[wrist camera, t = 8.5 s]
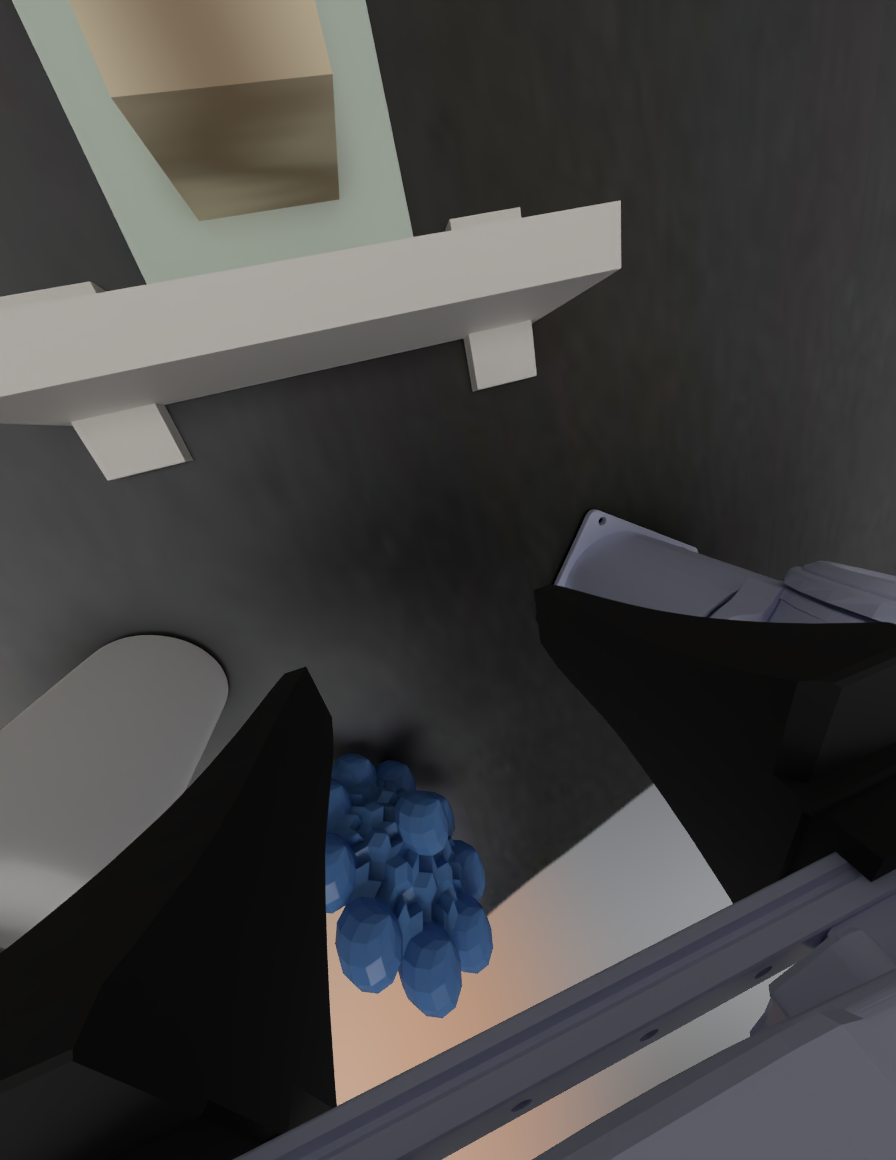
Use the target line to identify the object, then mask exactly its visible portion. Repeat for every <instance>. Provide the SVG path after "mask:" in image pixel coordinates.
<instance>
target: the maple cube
mask: <svg viewBox="0 0 896 1160" xmlns="http://www.w3.org/2000/svg"><path fill="white" fill-rule="evenodd" d="M69 1H70V4H71V6H72V8H73V11H74V13H75V15H76V18H77V20H78V22H79V25H80V27H81V29H82V32H83V34H84V36H85V39H86V41H87V43H88V46H89V48H90V50H91V52H92V55H93V57H94V59H95V62H96V64H97V66H98V69H99V71H100V73H101V76H102V78H103V80H104V83H105V85H106V87H107V90H108V92H109V94H110V97H111V98H112V100H113V101H114V103H115V104H116V105H117V107H118V108H119V110H120V111H121V112H122V114H123V115H124V117H125V118H126V119H127V121H128V122H129V124H130V125H131V126H132V128H133V129H134V131H135V132H136V133H137V135H138V136H139V138H140V139H141V140H142V142H143V143H144V145H145V146H146V147H147V149H148V150H149V152H150V153H151V154H152V156H153V157H154V159H155V160H156V161H157V163H158V164H159V165H160V167H161V168H162V170H163V171H164V172H165V174H166V175H167V177H168V178H169V179H170V181H171V182H172V184H173V185H174V186H175V188H176V189H177V191H178V192H179V193H180V195H181V196H182V198H183V199H184V200H185V202H186V203H187V205H188V206H189V207H190V209H191V210H192V212H193V213H194V214H195V216H196V217H197V219H198V220H199V221H204V220H211V219H217V218H223V217H230V216H236V215H243V214H249V213H255V212H262V211H268V210H275V209H281V208H287V207H294V206H300V205H307V204H313V203H319V202H326V201H332V200H339V181H338V163H337V145H336V127H335V108H334V90H333V73H332V69H331V65H330V61H329V57H328V53H327V49H326V44H325V40H324V36H323V32H322V28H321V24H320V20H319V15H318V11H317V7H316V3H315V0H69Z"/></svg>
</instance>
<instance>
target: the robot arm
mask: <svg viewBox="0 0 896 1160" xmlns="http://www.w3.org/2000/svg"><path fill="white" fill-rule="evenodd" d="M601 517H602V521H601V522H600V523H599V519H600V518H601ZM534 595H535V602H536V610H537V617H538V625H539V633H540V640H541V643H542V645H543V646H544V648H545V650H546V651H547V653H548V654H549V656H550V657H551V658H552V660H553V661H554V663H555V664H556V665H557V667H558V668H559V669H560V670H561V671H562V673H563V674H564V675H565V676H566V677H567V678H568V679H569V680H570V681H571V683H572V684H573V685H574V686H575V687H576V688H577V689H578V690H579V691H580V692H581V693H582V695H583V696H584V697H585V698H586V699H587V700H588V701H589V702H590V703H591V704H592V706H593V707H594V708H595V709H596V710H597V711H598V712H599V713H600V714H601V715H602V716H603V718H604V719H605V720H606V721H607V722H608V723H609V724H610V726H611V727H612V728H613V729H614V730H615V732H616V733H617V734H618V735H619V737H620V738H621V739H622V741H623V742H624V743H625V745H626V746H627V747H628V749H629V750H630V751H631V753H632V754H633V755H634V757H635V758H636V759H637V761H638V762H639V763H640V765H641V766H642V768H643V769H644V770H645V772H646V773H647V775H648V776H649V777H650V779H651V780H652V782H653V783H654V784H655V786H656V787H657V788H658V790H659V791H660V793H661V794H662V795H663V797H664V798H665V800H666V801H667V803H668V804H669V806H670V807H671V809H672V810H673V812H674V813H675V815H676V816H677V818H678V819H679V821H680V822H681V824H682V825H683V826H684V828H685V829H686V831H687V832H688V834H689V835H690V837H691V838H692V840H693V841H694V842H695V844H696V846H697V847H698V849H699V851H700V852H701V853H702V855H703V857H704V858H705V860H706V861H707V863H708V865H709V866H710V868H711V869H712V871H713V872H714V874H715V875H716V877H717V879H718V880H719V882H720V883H721V885H722V886H723V888H724V889H725V891H726V893H727V894H728V896H729V897H730V899H731V901H732V902H733V904H732V905H730V906H728V907H726V908H724V909H722V910H720V911H718V912H716V913H714V914H712V915H710V916H709V917H707V918H705V919H703V920H701V921H699V922H697V923H695V924H693V925H691V926H689V927H687V928H685V929H683V930H681V931H679V932H677V933H675V934H673V935H671V936H670V937H667V938H665V939H663V940H662V941H660V942H658V943H656V944H654V945H652V946H650V947H648V948H646V949H644V950H642V951H640V952H638V953H636V954H634V955H632V956H630V957H628V958H626V959H624V960H623V961H620V962H619V963H617V964H615V965H613V966H611V967H609V968H607V969H605V970H603V971H601V972H599V973H597V974H595V975H593V976H591V977H589V978H587V979H585V980H583V981H582V982H579V983H578V984H576V985H573V986H572V987H570V988H568V989H566V990H564V991H562V992H560V993H558V994H556V995H554V996H552V997H550V998H548V999H546V1000H544V1001H542V1002H540V1003H538V1004H536V1005H534V1006H533V1007H530V1008H528V1009H527V1010H525V1011H523V1012H521V1013H519V1014H517V1015H515V1016H513V1017H511V1018H509V1019H507V1020H505V1021H503V1022H501V1023H499V1024H497V1025H495V1026H493V1027H491V1028H489V1029H488V1030H485V1031H484V1032H482V1033H480V1034H478V1035H476V1036H474V1037H472V1038H470V1039H468V1040H466V1041H464V1042H462V1043H460V1044H458V1045H456V1046H454V1047H452V1048H450V1049H448V1050H446V1051H444V1052H442V1053H441V1054H438V1055H437V1056H435V1057H433V1058H431V1059H429V1060H427V1061H425V1062H423V1063H421V1064H419V1065H417V1066H415V1067H413V1068H411V1069H409V1070H407V1071H405V1072H403V1073H401V1074H400V1075H398V1076H395V1077H393V1078H391V1079H390V1080H388V1081H386V1082H384V1083H382V1084H380V1085H378V1086H376V1087H374V1088H372V1089H370V1090H368V1091H366V1092H364V1093H362V1094H360V1095H358V1096H356V1097H354V1098H353V1099H350V1100H348V1101H346V1102H345V1103H343V1104H341V1105H339V1106H337V1104H336V1091H335V1079H334V1065H333V1051H332V1050H333V1049H332V1035H331V1020H330V1003H329V982H328V960H327V933H326V883H325V849H326V830H327V819H328V808H329V797H330V786H331V775H332V763H333V728H332V717H331V715H330V713H329V711H328V709H327V707H326V705H325V703H324V701H323V699H322V697H321V695H320V693H319V691H318V689H317V687H316V685H315V683H314V681H313V679H312V677H311V675H310V674H309V672H308V670H307V668H306V667H303V668H300V669H297V670H294V671H291V672H288V673H285V674H284V675H283V676H282V677H281V678H280V680H279V681H278V682H277V683H276V684H275V686H274V687H273V688H272V689H271V691H270V692H269V693H268V694H267V696H266V697H265V698H264V700H263V701H262V702H261V703H260V705H259V706H258V707H257V709H256V710H255V711H254V712H253V714H252V715H251V716H250V717H249V719H248V720H247V721H246V722H245V724H244V725H243V726H242V727H241V729H240V730H239V731H238V732H237V734H236V735H235V736H234V737H233V738H232V739H231V741H230V742H229V743H228V744H227V745H226V746H225V748H224V749H223V750H222V751H221V752H220V753H219V755H218V756H217V757H216V758H215V759H214V760H213V762H212V763H211V764H210V765H209V766H208V767H207V768H206V770H205V771H204V772H203V773H202V774H201V775H200V776H199V777H198V778H197V779H196V780H195V781H194V783H193V784H192V785H191V786H190V787H189V788H188V789H187V790H186V791H185V792H184V793H183V794H182V795H181V796H180V797H179V798H178V799H177V800H176V801H175V802H174V803H173V804H172V805H171V806H170V807H169V808H168V809H167V810H166V811H165V812H164V813H163V814H162V815H161V816H160V817H159V818H158V819H157V820H156V821H155V822H154V823H152V824H151V825H150V826H149V827H148V828H147V829H146V830H145V831H144V832H143V833H142V834H141V835H139V836H138V837H137V838H136V839H135V840H134V841H133V842H132V843H131V844H130V845H129V846H128V847H126V848H125V849H124V850H123V851H122V852H121V853H120V854H119V855H118V856H117V857H116V858H115V859H113V860H112V861H111V862H110V863H109V864H108V865H107V866H106V867H104V868H103V869H102V870H101V871H100V872H99V873H98V874H96V875H95V876H94V877H93V878H92V879H91V880H89V881H88V882H87V883H86V884H85V885H84V886H82V887H81V888H80V889H79V890H78V891H77V892H75V893H74V894H73V895H72V896H71V897H69V898H68V899H67V900H66V901H65V902H63V903H62V904H61V905H60V906H58V907H57V908H56V909H55V910H54V911H52V912H51V913H50V914H49V915H48V916H46V917H45V918H44V919H43V920H42V921H40V922H39V923H38V924H37V925H35V926H34V927H33V928H32V929H30V930H29V931H28V932H27V933H25V934H24V935H23V936H22V937H20V938H19V939H18V940H17V941H15V942H14V943H13V944H12V945H10V946H9V947H8V948H6V949H5V950H4V951H2V952H1V953H0V1160H441V1159H443V1158H445V1157H447V1156H448V1155H451V1154H452V1153H454V1152H456V1151H458V1150H459V1149H461V1148H463V1147H465V1146H467V1145H468V1144H470V1143H472V1142H474V1141H476V1140H477V1139H479V1138H481V1137H483V1136H485V1135H487V1134H488V1133H490V1132H492V1131H494V1130H496V1129H497V1128H499V1127H501V1126H503V1125H505V1124H506V1123H508V1122H510V1121H512V1120H514V1119H515V1118H517V1117H519V1116H521V1115H523V1114H525V1113H526V1112H528V1111H530V1110H532V1109H533V1108H535V1107H537V1106H539V1105H541V1104H542V1103H544V1102H546V1101H548V1100H550V1099H551V1098H553V1097H555V1096H557V1095H559V1094H561V1093H562V1092H564V1091H566V1090H568V1089H570V1088H571V1087H573V1086H575V1085H577V1084H579V1083H580V1082H582V1081H584V1080H586V1079H588V1078H589V1077H591V1076H593V1075H595V1074H597V1073H598V1072H600V1071H602V1070H604V1069H606V1068H607V1067H609V1066H611V1065H613V1064H614V1063H616V1062H618V1061H620V1060H622V1059H624V1058H626V1057H627V1056H629V1055H631V1054H633V1053H634V1052H636V1051H638V1050H640V1049H642V1048H644V1047H645V1046H647V1045H649V1044H651V1043H653V1042H654V1041H656V1040H658V1039H660V1038H662V1037H663V1036H665V1035H667V1034H669V1033H671V1032H672V1031H674V1030H676V1029H678V1028H680V1027H681V1026H683V1025H685V1024H687V1023H688V1022H690V1021H692V1020H694V1019H696V1018H697V1017H699V1016H701V1015H703V1014H705V1013H706V1012H708V1011H710V1010H712V1009H714V1008H716V1007H717V1006H719V1005H721V1004H723V1003H725V1002H726V1001H728V1000H730V999H732V998H734V997H735V996H737V995H739V994H741V993H743V992H745V991H746V990H748V989H750V988H752V987H753V986H755V985H757V984H759V983H761V982H763V981H764V980H766V979H768V978H770V977H771V976H773V975H775V974H777V973H779V972H781V971H782V970H784V969H786V968H788V967H790V966H791V965H793V964H794V965H793V966H792V967H791V968H789V969H788V970H787V971H786V972H784V973H783V974H782V975H780V976H779V977H778V978H777V979H775V980H774V981H773V982H772V983H771V984H769V991H770V997H771V998H770V1001H769V1003H768V1005H767V1008H766V1010H765V1013H764V1014H763V1015H762V1016H761V1018H760V1019H759V1020H758V1022H757V1023H756V1024H755V1026H754V1027H753V1028H752V1030H751V1031H750V1037H749V1038H747V1039H745V1040H743V1041H741V1042H739V1043H736V1044H735V1045H733V1046H730V1047H728V1048H726V1049H724V1050H722V1051H720V1052H718V1053H717V1054H715V1055H713V1056H711V1057H709V1058H707V1059H705V1060H703V1061H702V1062H700V1063H698V1064H696V1065H694V1066H692V1067H690V1068H689V1069H687V1070H685V1071H683V1072H681V1073H679V1074H677V1075H675V1076H674V1077H672V1078H670V1079H668V1080H666V1081H665V1082H662V1083H661V1084H659V1085H657V1086H655V1087H654V1088H652V1089H650V1090H648V1091H647V1092H645V1093H643V1094H641V1095H640V1096H638V1097H636V1098H634V1099H633V1100H631V1101H629V1102H627V1103H626V1104H624V1105H622V1106H621V1107H619V1108H617V1109H615V1110H614V1111H612V1112H610V1113H608V1114H607V1115H605V1116H603V1117H601V1118H600V1119H598V1120H596V1121H595V1122H593V1123H591V1124H590V1125H588V1126H586V1127H585V1128H583V1129H581V1130H580V1131H578V1132H576V1133H575V1134H573V1135H572V1136H570V1137H568V1138H567V1139H565V1140H563V1141H562V1142H561V1143H559V1144H557V1145H555V1146H554V1147H552V1148H550V1149H549V1150H547V1151H545V1152H544V1153H542V1154H541V1155H539V1156H537V1157H536V1158H534V1159H532V1160H896V576H892V575H888V574H884V573H880V572H875V571H871V570H867V569H862V568H858V567H853V566H848V565H844V564H839V563H834V562H828V561H816V562H813V563H810V564H807V565H804V566H803V567H792V568H790V569H789V570H788V572H787V574H786V576H785V578H784V581H779V580H775V579H772V578H769V577H766V576H763V575H761V574H758V573H755V572H752V571H749V570H746V569H743V568H740V567H737V566H734V565H731V564H728V563H725V562H722V561H719V560H717V559H714V558H711V557H708V556H705V555H702V554H699V553H698V550H697V548H695V547H693V546H690V545H687V544H685V543H682V542H680V541H677V540H674V539H672V538H669V537H667V536H664V535H661V534H659V533H656V532H654V531H651V530H648V529H646V528H643V527H641V526H638V525H635V524H633V523H630V522H628V521H625V520H623V519H620V518H617V517H615V516H612V515H610V514H607V513H604V512H602V511H599V510H595V509H593V510H590V511H589V512H588V513H587V514H586V516H585V518H584V520H583V523H582V525H581V527H580V529H579V531H578V533H577V536H576V538H575V540H574V542H573V544H572V546H571V548H570V551H569V553H568V555H567V557H566V559H565V561H564V564H563V566H562V568H561V570H560V572H559V574H558V576H557V579H556V581H555V583H554V585H553V584H551V585H548V586H545V587H542V588H539V589H536V590H534ZM795 963H796V964H795Z"/></svg>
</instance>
